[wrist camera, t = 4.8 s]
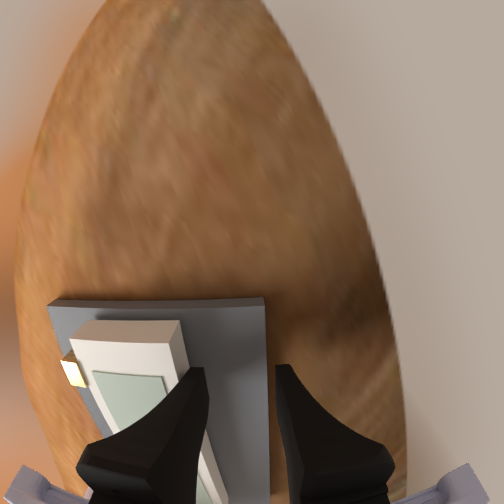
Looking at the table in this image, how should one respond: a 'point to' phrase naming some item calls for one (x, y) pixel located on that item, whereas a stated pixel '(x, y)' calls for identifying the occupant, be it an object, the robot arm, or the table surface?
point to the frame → (140, 380)
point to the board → (216, 372)
